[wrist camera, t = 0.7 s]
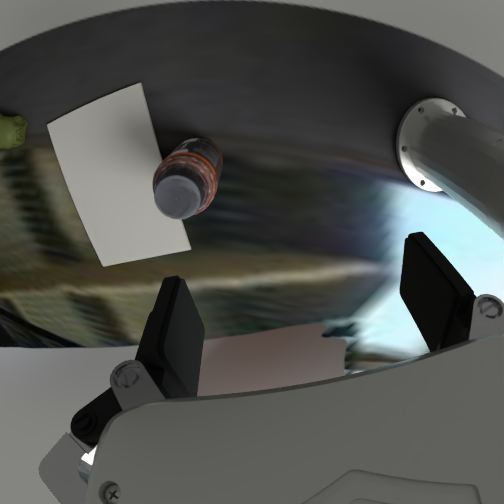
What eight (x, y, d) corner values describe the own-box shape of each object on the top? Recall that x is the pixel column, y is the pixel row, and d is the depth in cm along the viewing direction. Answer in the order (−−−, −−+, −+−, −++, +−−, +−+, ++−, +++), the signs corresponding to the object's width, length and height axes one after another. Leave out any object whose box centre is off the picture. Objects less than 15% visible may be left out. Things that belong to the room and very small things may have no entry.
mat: (141, 82, 28) (140, 82, 27) (191, 248, 39) (190, 249, 39) (48, 124, 29) (47, 124, 28) (104, 265, 40) (103, 266, 40)
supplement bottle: (178, 131, 31) (148, 155, 21) (229, 143, 32) (221, 172, 22) (168, 179, 34) (138, 221, 24) (216, 190, 35) (204, 237, 25)
